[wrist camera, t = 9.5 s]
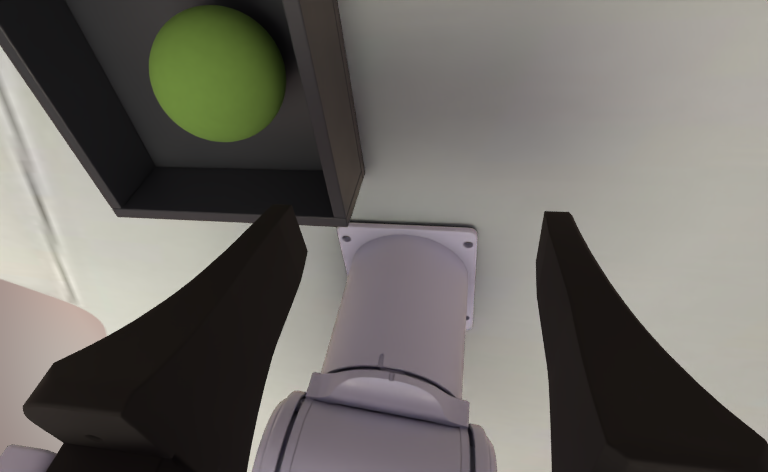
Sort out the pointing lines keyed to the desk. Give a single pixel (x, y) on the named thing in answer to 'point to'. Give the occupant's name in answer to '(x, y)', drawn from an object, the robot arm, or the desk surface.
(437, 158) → the desk surface
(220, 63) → the pea ball
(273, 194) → the open box
